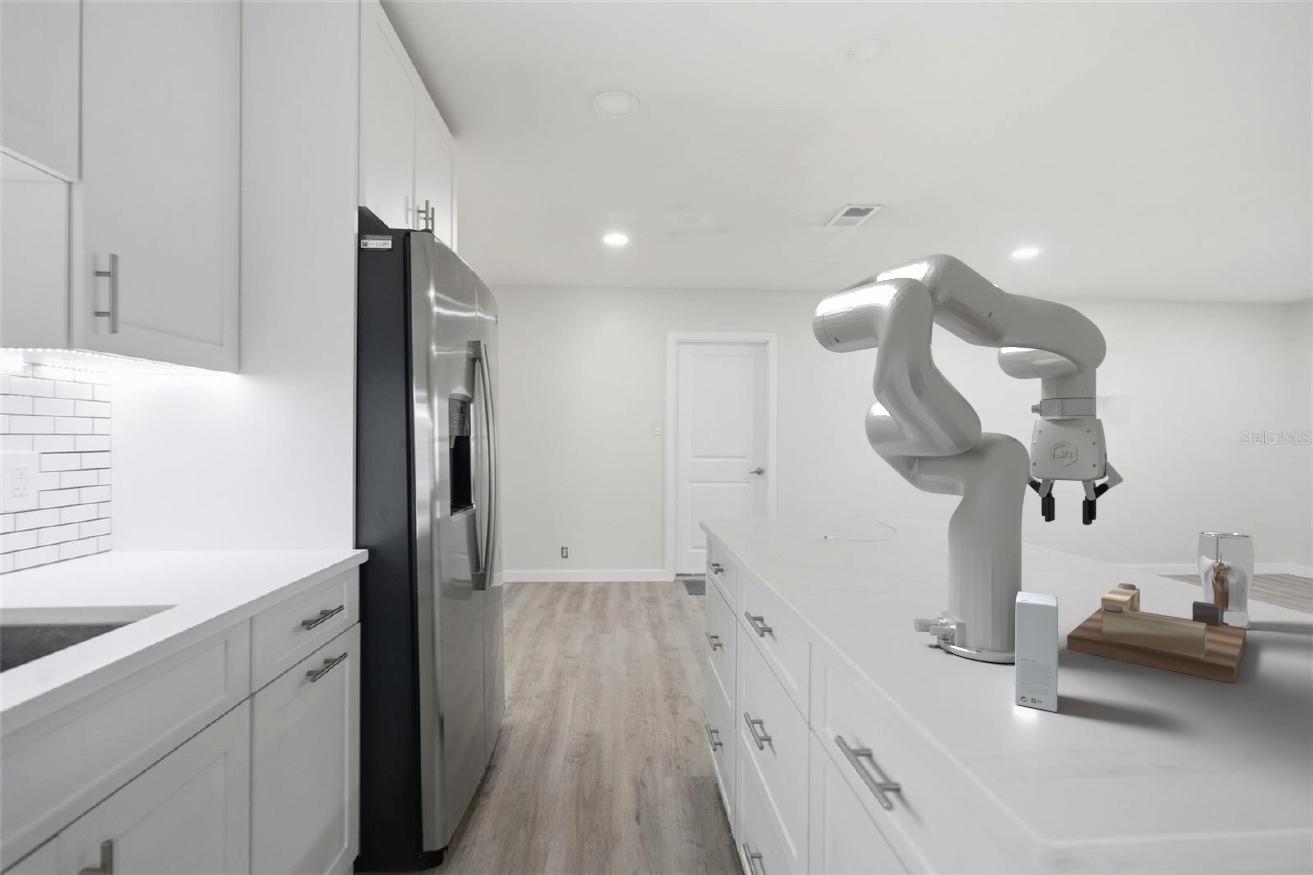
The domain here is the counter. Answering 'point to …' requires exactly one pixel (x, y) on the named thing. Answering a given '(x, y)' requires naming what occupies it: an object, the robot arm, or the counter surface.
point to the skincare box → (1036, 650)
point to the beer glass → (1227, 574)
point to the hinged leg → (1123, 598)
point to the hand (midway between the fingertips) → (1068, 521)
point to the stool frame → (1165, 640)
